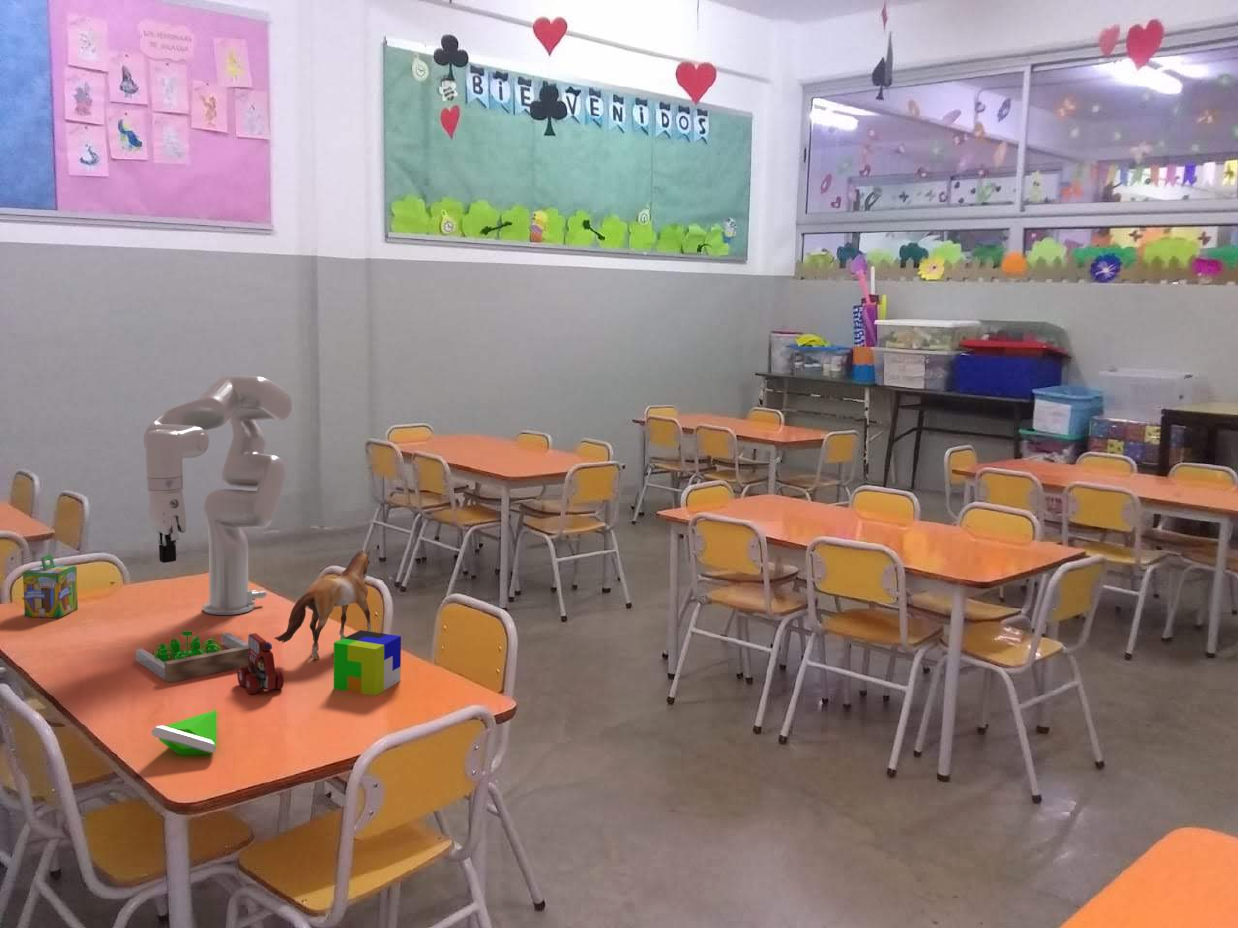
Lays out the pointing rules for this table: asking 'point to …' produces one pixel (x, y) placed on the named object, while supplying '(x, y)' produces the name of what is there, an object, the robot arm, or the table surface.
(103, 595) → the table surface
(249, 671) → the toy fire truck
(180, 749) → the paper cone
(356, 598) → the horse figurine
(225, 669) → the walnut bay
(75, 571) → the chalk box
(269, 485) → the robot arm
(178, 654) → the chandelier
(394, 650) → the puzzle toy
